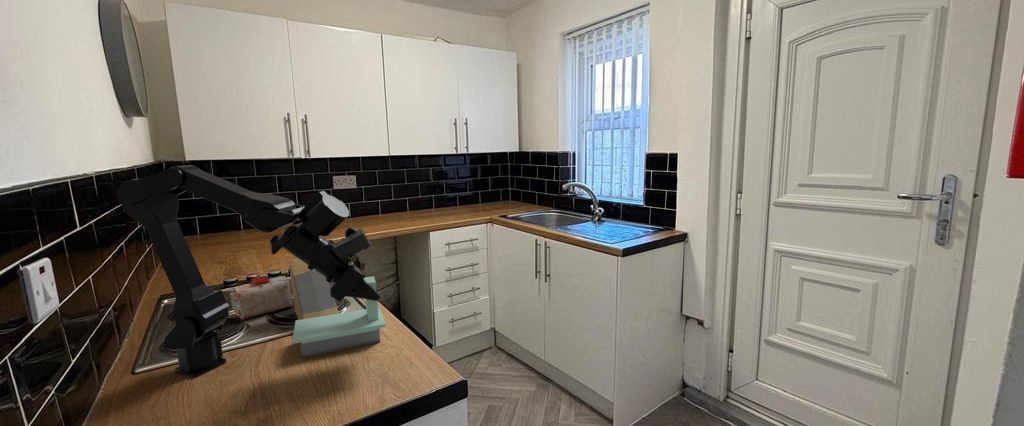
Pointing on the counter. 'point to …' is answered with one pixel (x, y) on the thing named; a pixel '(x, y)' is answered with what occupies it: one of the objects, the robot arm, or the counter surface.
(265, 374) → the counter surface
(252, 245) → the counter surface
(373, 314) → the lid
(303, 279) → the sandwich container
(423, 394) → the counter surface
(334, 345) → the box
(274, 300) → the food item
